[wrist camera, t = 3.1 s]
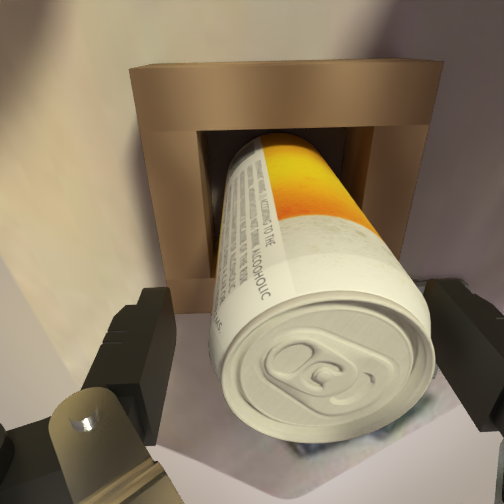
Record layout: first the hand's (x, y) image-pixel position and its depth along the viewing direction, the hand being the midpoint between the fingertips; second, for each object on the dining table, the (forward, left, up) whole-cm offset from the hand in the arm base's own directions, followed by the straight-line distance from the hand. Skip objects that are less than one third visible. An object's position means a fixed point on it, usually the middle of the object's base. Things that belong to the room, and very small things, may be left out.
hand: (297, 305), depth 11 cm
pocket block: (0, 0, -12) cm, 12 cm away
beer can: (0, 0, -12) cm, 12 cm away
